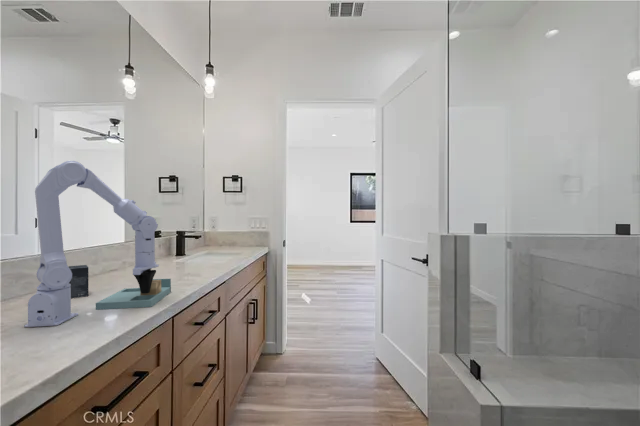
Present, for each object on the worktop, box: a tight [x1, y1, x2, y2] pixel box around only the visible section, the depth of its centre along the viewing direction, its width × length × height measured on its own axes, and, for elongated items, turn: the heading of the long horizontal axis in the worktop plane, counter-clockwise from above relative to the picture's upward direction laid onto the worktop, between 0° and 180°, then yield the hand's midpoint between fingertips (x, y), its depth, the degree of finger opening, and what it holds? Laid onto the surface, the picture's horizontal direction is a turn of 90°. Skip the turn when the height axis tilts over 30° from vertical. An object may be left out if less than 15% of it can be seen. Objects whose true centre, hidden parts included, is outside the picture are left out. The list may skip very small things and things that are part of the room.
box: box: [68, 264, 89, 299], centre depth 118 cm, size 8×6×11 cm
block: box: [140, 280, 161, 295], centre depth 111 cm, size 5×5×4 cm
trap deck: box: [95, 278, 172, 311], centre depth 110 cm, size 20×16×5 cm
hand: (145, 293), depth 107 cm, fingers closed
